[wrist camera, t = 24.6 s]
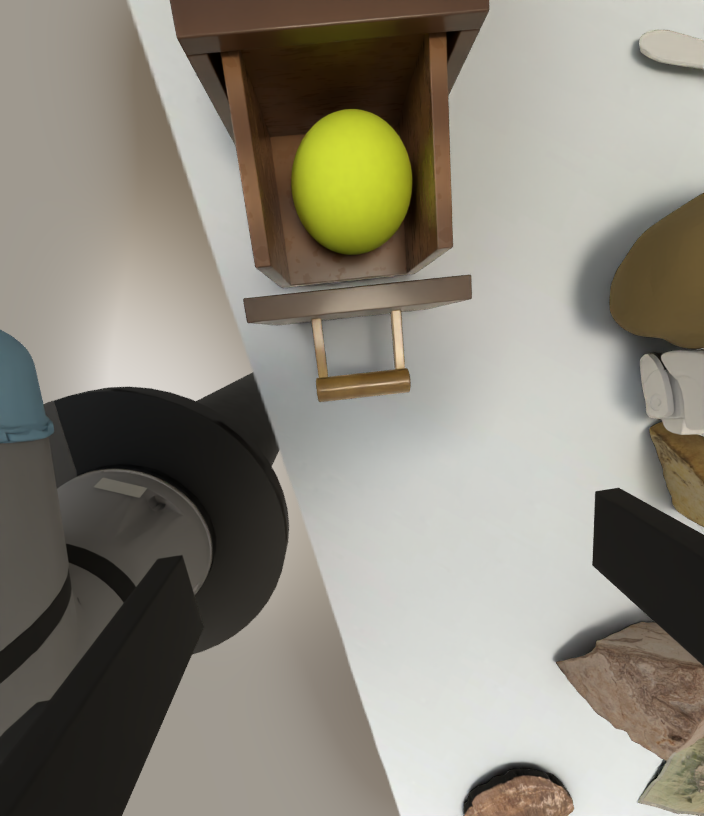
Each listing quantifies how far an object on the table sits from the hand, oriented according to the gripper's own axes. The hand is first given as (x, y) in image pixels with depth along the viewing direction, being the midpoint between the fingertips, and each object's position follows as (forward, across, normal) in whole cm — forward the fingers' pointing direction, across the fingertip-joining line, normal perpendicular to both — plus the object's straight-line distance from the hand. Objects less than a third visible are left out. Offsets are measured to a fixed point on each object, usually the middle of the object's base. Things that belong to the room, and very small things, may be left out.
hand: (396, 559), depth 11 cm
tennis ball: (+13, +1, +15) cm, 20 cm away
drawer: (+17, +1, +12) cm, 21 cm away
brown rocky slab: (+18, +12, -50) cm, 55 cm away
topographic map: (+18, +37, -51) cm, 65 cm away
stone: (+18, +25, -29) cm, 42 cm away
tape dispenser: (+18, +27, -2) cm, 33 cm away
